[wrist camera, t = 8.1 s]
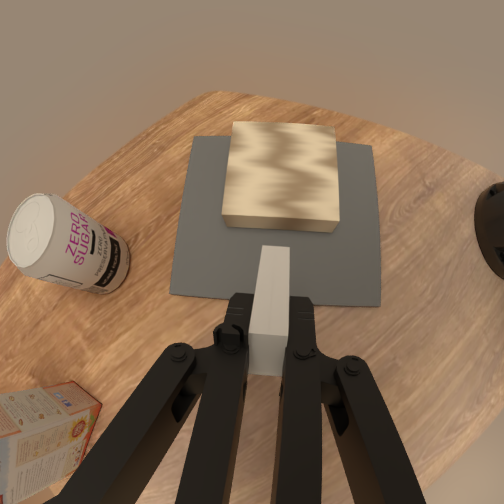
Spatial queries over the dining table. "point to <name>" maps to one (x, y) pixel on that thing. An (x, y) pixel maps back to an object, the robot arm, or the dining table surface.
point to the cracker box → (42, 437)
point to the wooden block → (282, 177)
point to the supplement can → (65, 246)
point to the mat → (278, 236)
